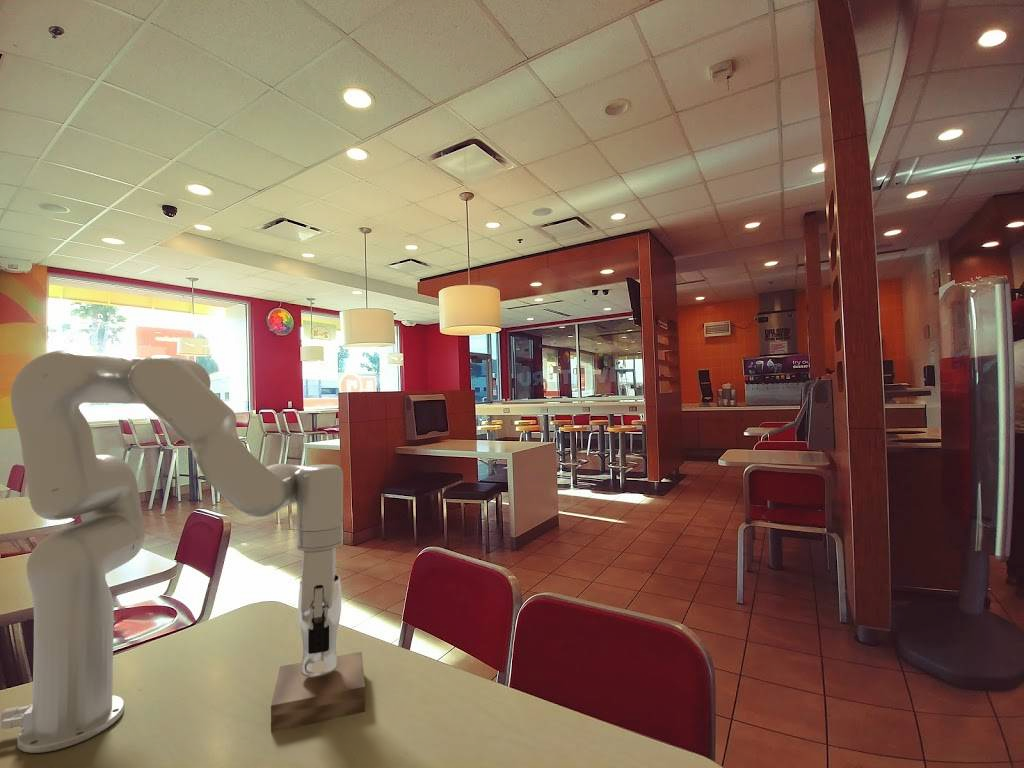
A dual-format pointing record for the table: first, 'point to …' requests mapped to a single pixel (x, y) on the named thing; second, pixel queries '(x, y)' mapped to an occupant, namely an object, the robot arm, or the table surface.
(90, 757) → the table surface
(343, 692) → the walnut shelf
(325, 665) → the beer glass
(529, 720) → the table surface
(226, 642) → the table surface
